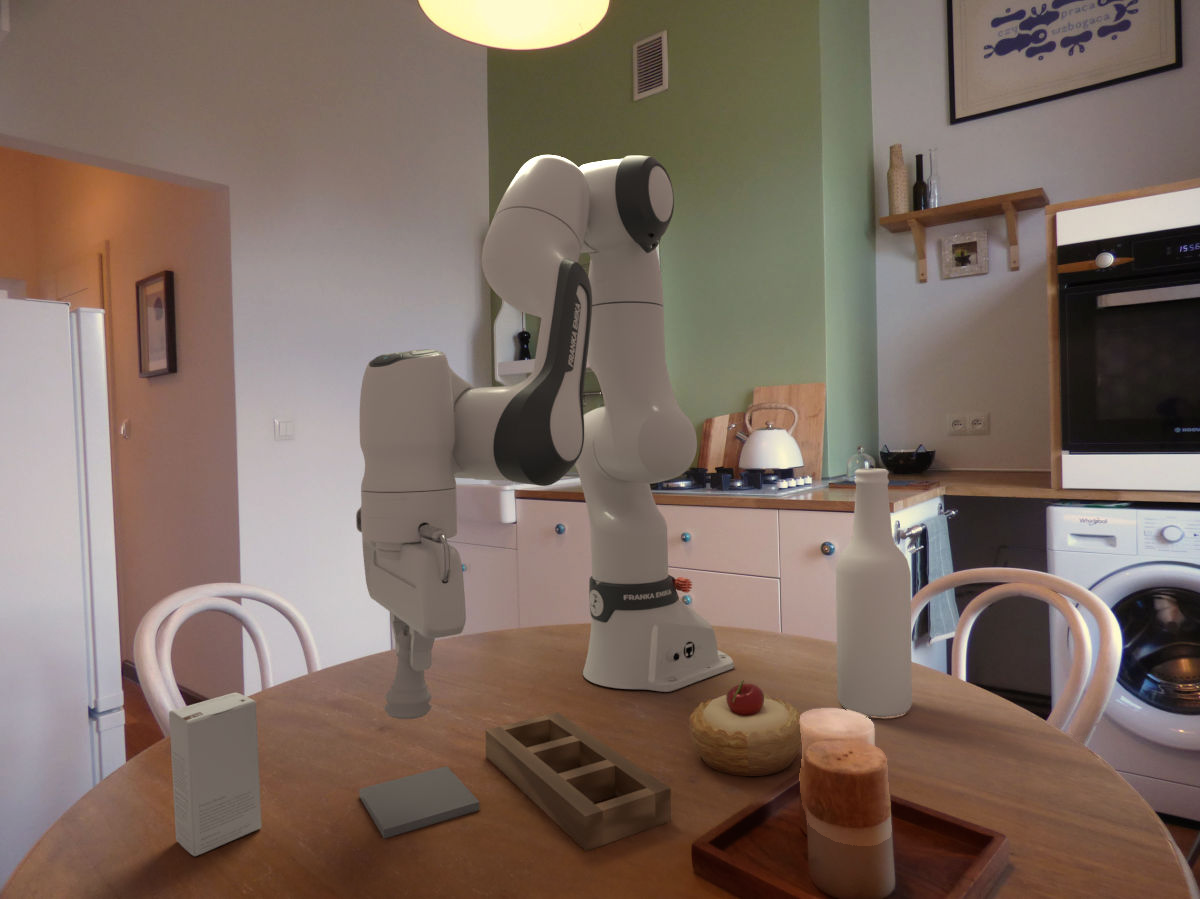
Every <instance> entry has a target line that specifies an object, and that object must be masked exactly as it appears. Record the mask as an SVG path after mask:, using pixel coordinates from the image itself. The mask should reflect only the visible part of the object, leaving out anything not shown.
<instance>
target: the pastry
mask: <svg viewBox="0 0 1200 899" xmlns="http://www.w3.org/2000/svg"><path fill="white" fill-rule="evenodd" d="M744 682H745V681H744V680H742V681H741V682H740V683H739V684H736V685H735V686H733V687H732V688H730V690H729V691H728V692H727V694H723V695H721V696H719V697H717V698H714V699H712V698H711V699H709V700H707V701H706V702H704V701H702V702H700V704H699V705H698V707H696V708H695V709H694V710H693V712H692V713H691V714H690V716H689V718H688V721H689V728H690V735H691V740H692V742H693V745H694V746H695V750H696V751H697V753H698V754H699V756H700V757H701V758H702V760H703V761H704V762H705V764H706V765H708V766H709V767H710V768H712V769H715V770H716V771H719V772H721V773H725V774H729V775H733V776H743V777H758V776H759V777H760V776H761V777H763V776H767V775H772V774H776V773H777V774H778V773H779V772H781V771H783V770H785V769H786V768H788V767H789V766H791V764H792V763H793V762H794V760H795V758H796V757H797V756H798V754H799V751H800V750H801V749H800V748H801V745H802V743H801V733H800V724H799V719H800V715H801V716H802V714H801V713H800V711H799V710H798V709H797V708H795V706H793V704H791V703H790V702H789V701H786V702H785V701H784V700H783V699H782V698H779V697H776V698H775V699H773V698H771V696H770V695H769V694H767V693H765V694H764V692H763V690H762V689H761V687H759V686H758V685H756V684H753V683H749V682H748V683H747V682H745V683H744Z"/></svg>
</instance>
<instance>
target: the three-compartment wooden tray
mask: <svg viewBox="0 0 1200 899" xmlns="http://www.w3.org/2000/svg"><path fill="white" fill-rule="evenodd" d="M484 733H485V757H486V758H487V759H488V761H490V762H491V763H492V764H493V765H494V766H495V767H496V768H498V769H499V770H500V771H501V772H502V774H504V775H505V777H507V778H508V779H509V780H510V781H511V782H512V783H513V784H514V785H516V786H517V788H518V789H520V790H521V791H522V792H523V793H524V795H526V796H527V797H528V798H529V799H530V800H531V801H532V802H533V803H534V804H536V805H537V807H538V808H540V809H541V810H542V811H543V812H544V813H545V814H546V815H547V816H548V817H549V818H550V819H551V820H552V821H554V822H555V823H556V824H557V826H559V827H560V828H561V829H562V831H564V832H565V833H566V834H567V835H568V836H569V837H570V838H571V839H572V840H573V841H575V842H576V844H578V845H579V846H580V847H581V848H582V849H583V851H585V852H588V851H590V850H594V849H596V848H599V847H602V846H605V845H607V844H610V843H613V842H616V841H618V840H622V839H624V838H626V837H630V836H633V835H635V834H639V833H641V832H643V831H647V830H649V829H653V828H655V827H657V826H660V825H663V824H666V823H669V822H672V788H671V787H669V786H668V785H667V784H665V783H663V782H662V781H661V780H659V779H657V778H656V777H655V776H653V775H652V774H650V772H648V771H646V770H645V769H643V768H641V767H640V766H638V764H635V763H634V762H632V761H631V760H629V759H628V758H626V757H625V756H623V755H622V754H621V753H619V752H618V751H616V750H615V749H614V748H612V747H611V746H609V745H607V744H606V743H604V742H603V741H601V740H600V739H598V738H597V737H596V736H594V735H592V734H591V733H589V732H588V731H586V730H585V729H583V727H581V726H579V725H578V724H576V723H575V722H574V721H572V720H570V719H568V717H565V715H562V714H561V713H560V712H553V713H549V714H545V715H541V716H536V717H532V718H529V719H524V720H520V721H517V722H512V723H508V724H504V725H499V726H495V727H491V728H487V729H485V732H484ZM612 797H614V798H612ZM610 798H612V799H610ZM606 799H609V800H606ZM603 800H606V801H603ZM599 801H601V802H599ZM602 801H603V802H602ZM597 802H599V803H597ZM595 803H596V804H595Z"/></svg>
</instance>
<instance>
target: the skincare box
mask: <svg viewBox="0 0 1200 899" xmlns="http://www.w3.org/2000/svg"><path fill="white" fill-rule="evenodd" d="M168 717H169V718H168V721H169V734H170V735H169V737H170V738H169V739H170V751H171V752H170V754H171V770H172V772H171V773H172V789H173V790H172V791H173V808H174V809H173V810H174V813H173V814H174V826H175V840H176V841H177V843H178V844H179V845H180V846H181V847H182V848H183V849H184V850H185V851H187V853H189V855H191V856H193V857H197V856H198V857H199V855H203V854H205V853H207V852H209V851H212V850H214V849H216V848H218V847H220V846H224V845H226V844H227V843H230V842H233V841H235V840H237V839H240V838H242V837H244V836H246V835H248V834H251V833H253V832H255V831H258V830H259V829H261V828H262V810H261V808H262V807H261V783H260V762H259V761H260V759H259V758H260V757H259V737H258V723H257V702H256V701H255V700H254V699H253V698H250V697H248V696H246V695H244V694H241V693H239V692H231V693H228V694H225V695H222V696H221V695H220V696H217V697H213V698H210V699H207V700H204V701H200V702H197V703H192V704H189V705H186V706H182V707H179V708H175V709H172V710H169V712H168Z"/></svg>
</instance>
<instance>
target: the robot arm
mask: <svg viewBox="0 0 1200 899" xmlns="http://www.w3.org/2000/svg"><path fill="white" fill-rule="evenodd" d="M501 198H502V199H501V200H500V202H499V204H498V205H497V208H496V211H495V212H494V216H493V218H492V220H491V223H490V226H489V229H488V230H487V234H486V236H485V239H484V241H483V242H484V243H483V246H482V251H481V252H482V253H481V268H482V271H483V274H484V277H485V279H486V281H487V283H488V285H489V286H490V288H491V289H492V290H493V292H494V293H495V294H496V295H497V296H498V297H499V298H500V299H501V300H503V302H505V303H506V304H508V305H509V306H511V307H512V308H514V309H515V310H518V311H520V312H522V313H524V314H527V315H532V316H535V317H538V318H540V326H539V332H538V339H537V345H536V352H535V358H534V365H533V369H532V370H533V371H532V372H531V373H530V375H529V376H528V377H526V378H525V379H524V380H522V381H520V382H519V383H516V384H514V385H507V386H503V385H502V386H487V387H485V386H484V387H480V386H475V385H474V384H472V383H471V382H469V381H466V380H465V379H463V378H462V377H460V376H459V375H458V374H457V373H456V372H455V371H454V370H453V369H452V368H451V366H450V365H449V361H448V358H447V355H446V353H445V352H443V351H440V350H437V349H430V348H429V349H416V350H415V349H414V350H409V351H400V352H399V351H397V352H392V353H386V354H385V353H384V354H382V355H381V354H379V355H377V356H376V357H375V358H373V359H372V360H370V361H369V362H368V364H367V365H366V368H365V370H364V372H363V376H362V377H363V378H362V381H361V388H360V398H359V445H360V449H361V452H362V454H363V455H362V456H363V459H364V460H363V461H364V473H363V477H362V480H361V484H360V498H361V499H360V500H361V504H360V507H359V508H358V509H357V511H356V513H355V514H356V515H355V519H356V522H355V523H356V526H355V527H356V529H357V532H359V533H361V536H362V537H361V538H362V540H361V542H362V555H363V565H364V566H363V567H364V575H365V584H366V588H367V592H368V596H369V597H370V598H371V599H372V600H373V601H375V602H377V603H378V604H379V605H380V606H382V607H383V608H384V609H385V610H387V611H388V612H390V614H389V615H390V618H389V620H390V624H391V628H392V632H393V637H394V644H395V647H394V648H395V655H396V654H397V653H398V652H399V645H398V643H397V641H396V640H395V638H396V636H397V635H398V634H399V628H400V627H402V628H403V629H404V626H409V630H410V635H412V637H411V649H408V658H409V660H408V664H409V666H410V667H411V668H412V669H413V670H415V671H421V670H424V671H426V670H429V669H430V668H431V667H432V664H433V663H432V660H433V658H432V651H433V647H434V644H435V641H436V640H435V639H439V638H444V637H450V636H456V635H460V634H461V633H463V631H464V629H465V628H464V627H465V625H466V621H467V612H466V611H467V610H466V609H467V608H466V594H465V593H466V592H465V586H464V582H465V581H464V573H463V566H462V564H463V563H462V560H461V556H460V554H459V551H458V550H457V548H456V547H454V546H452V545H451V544H450V543H449V542H448V541H447V539H451V538H453V537H455V536H457V535H458V510H457V509H458V508H457V507H458V505H457V482H456V479H474V480H479V481H505V482H506V481H510V482H514V483H518V484H526V485H533V486H538V487H539V486H541V487H547V486H551V485H554V484H555V483H558V482H559V481H560V480H561V479H562V478H563V477H564V476H565V475H566V474H568V473H569V471H571V469H572V468H573V467H574V466H575V468H576V470H577V472H578V477H579V480H580V483H581V489H582V493H583V496H584V500H585V504H586V509H587V514H588V518H589V519H588V520H589V526H590V544H591V545H590V548H591V576H590V577H589V582H588V584H589V585H588V586H589V588H588V589H589V591H588V592H589V593H588V594H589V597H588V598H589V611H590V613H589V614H590V616H591V621H590V622H591V623H590V633H589V634H590V635H589V640H588V641H589V642H588V649H587V653H586V654H587V655H586V660H585V664H584V667H583V670H582V675H583V677H584V678H585V679H586V680H587V681H589V682H591V683H593V684H595V685H599V686H602V687H606V688H613V689H622V690H623V689H624V690H648V691H655V692H662V693H663V692H664V693H668V692H672V691H677V690H678V689H681V688H684V687H686V686H688V685H692V684H695V683H697V682H700V681H702V680H705V679H708V678H710V677H713V676H716V675H718V674H722V673H724V672H727V671H730V670H732V669H734V667H735V665H734V660H733V659H732V657H731V656H729V655H728V654H726V653H725V652H723V651H721V650H719V649H718V642H717V637H716V632H715V630H714V627H713V625H712V624H711V623H710V621H708V619H705V618H704V617H703V616H702V615H700V614H698V612H696V611H695V610H693V609H692V608H691V607H690V606H688V605H687V604H685V603H684V602H683V601H682V600H680V597H679V593H678V592H677V591H680V592H683V593H690V591H691V589H692V588H693V581H691V579H690V578H686V577H685V578H684V577H682V576H679V577H677V578H675V577H673V576H672V575H670V574H669V556H668V554H669V552H668V550H669V549H668V547H669V546H668V541H669V540H668V526H667V525H668V524H667V521H666V519H665V517H664V515H663V513H662V512H661V511H660V510H659V507H658V506H657V504H656V501H655V498H654V496H653V493H652V489H651V484H658V483H661V482H666V481H669V480H673V479H675V478H678V477H679V476H681V475H683V474H684V473H685V472H686V471H688V469H690V467H691V466H692V464H693V462H694V460H695V458H696V454H697V449H698V439H697V438H698V437H697V433H696V429H695V427H694V425H693V424H692V421H691V420H690V419H689V418H688V416H687V415H685V413H684V412H683V411H682V409H681V408H680V405H679V404H678V402H677V398H676V396H675V393H674V390H673V387H672V383H671V380H670V376H669V373H668V372H669V371H668V366H667V362H666V359H667V358H666V347H665V346H666V345H665V343H666V342H665V319H664V318H665V316H664V315H665V313H664V309H665V308H664V288H663V280H662V279H663V278H662V272H661V265H660V259H659V256H658V252H657V251H658V250H657V247H658V246H659V244H660V241H661V240H662V237H663V236H664V234H665V233H666V231H667V230H668V227H669V226H670V224H671V220H672V218H673V214H674V208H675V195H674V188H673V185H672V181H671V178H670V175H669V173H668V171H667V169H666V168H665V167H664V165H663V164H661V162H660V161H659V160H657V158H655V157H654V156H648V155H626V156H624V157H623V158H620V159H619V158H617V159H606V160H601V161H600V160H599V161H594V162H589V163H585V164H582V165H580V166H579V167H578V166H577V165H576V164H575V163H574V162H572V161H571V160H569V159H567V158H565V157H561V156H560V155H552V154H542V155H539V156H535V157H533V158H531V159H529V160H528V161H527V162H525V163H524V164H523V165H522V166H521V167H520V169H519V170H518V172H517V173H516V174H515V176H514V178H513V179H512V181H511V182H510V184H509V185H508V187H507V189H506V190H505V192H504V194H503V196H502V197H501ZM586 253H588V256H589V258H590V260H589V267H588V273H587V272H586V270H585V269H584V267H583V266H582V265H581V264H580V263H579V260H580V256H581V254H586ZM587 365H589V368H590V369H591V371H592V372H593V373H594V375H595V376H596V378H597V381H598V383H599V387H600V389H601V394H602V398H603V402H604V406H601V407H597V408H594V409H592V410H590V411H588V412H586V413H584V391H585V383H586V382H585V381H586V373H587Z"/></svg>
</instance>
